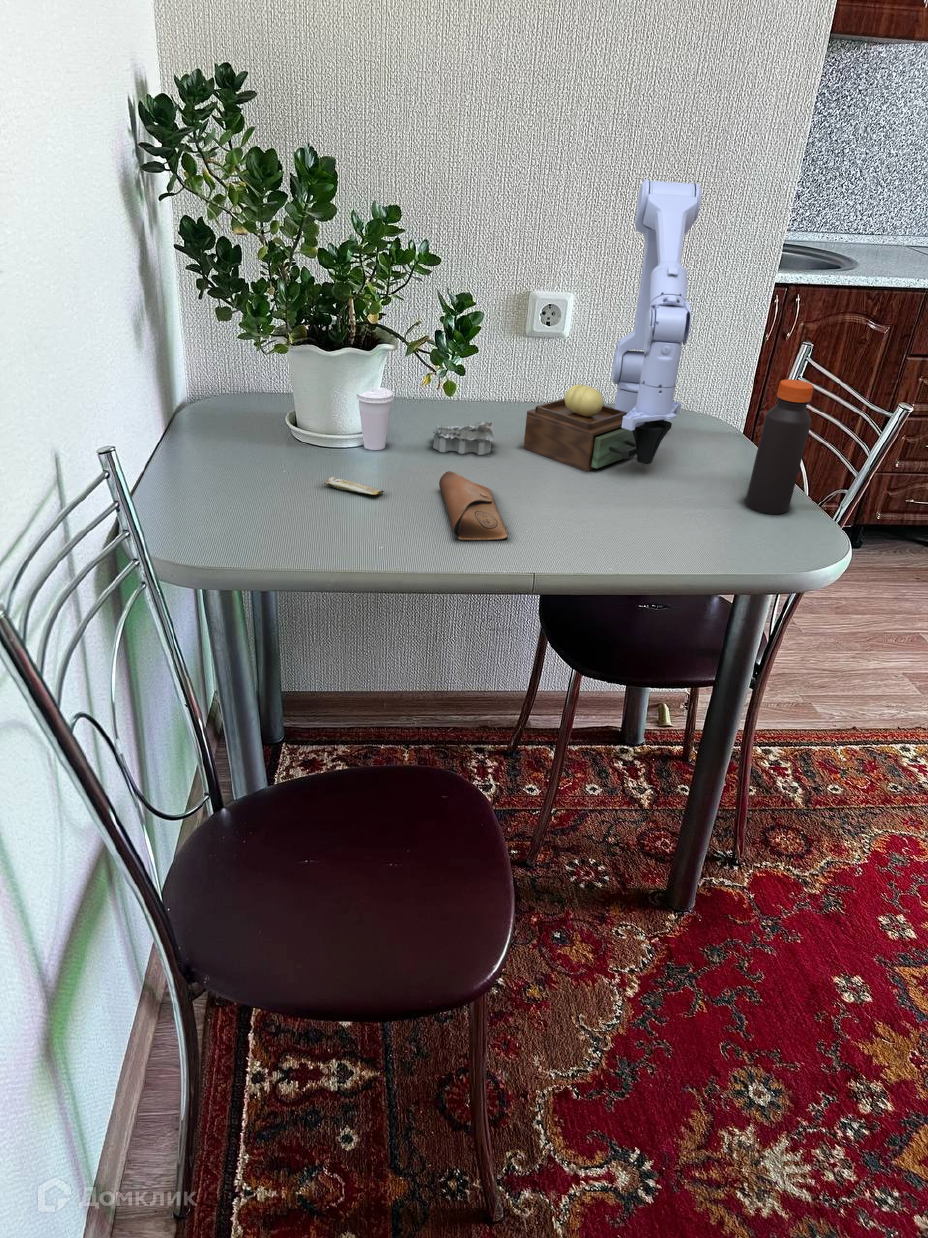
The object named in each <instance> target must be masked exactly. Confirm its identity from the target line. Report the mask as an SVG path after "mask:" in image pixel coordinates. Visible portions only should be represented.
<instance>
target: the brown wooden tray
mask: <svg viewBox="0 0 928 1238" xmlns="http://www.w3.org/2000/svg"><path fill="white" fill-rule="evenodd" d="M562 405H565V397H564V398H560V399H557V400H554V401H549V402H545V403H543V404H539V405H536V406H535V408H534V409H535V412H538V413H541V414H544V415H547V416H550V417H553V418H556V419H559V420H562V421H565V422H568V423H571V424H574V425H577V426H580V427H583V428H586V429H588V430H591V429H594V428H597V427H600V426H603V425H606V424H609V423H612V422H615V421H618V420H621V419H623V416H625V415H627V412H624V411H621V410H618V409H614V407H611V406H608V405H604V404H603V407H602V409H601V411H603V412H606V413H609V414H612V416H609V417H606V418H603V419H600V420H597V421H594V422H591V423H589V422H586V421H583V420H579V419H576V418H573V417H570V416H567V415H564V414H561V413H558V412H555V411H552V410H549V409H551V408H555V407H558V406H562Z"/></svg>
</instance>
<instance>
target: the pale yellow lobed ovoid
mask: <svg viewBox="0 0 928 1238" xmlns="http://www.w3.org/2000/svg"><path fill="white" fill-rule="evenodd" d="M564 398H565V404H566V407H567V408H568V409H569V410H570V411H571V412H573V413H576V414H579V415H582V416H586V417H591V416H595V415H596V414H598V413H599V412H600V411H601V409H602V407H603V405H604V397H603V395H602V393H601V392H600V391H599V390H598V389H596V388H594V387H592V386H588V385H585V384H579V383H578V384H574V385H572V386H570V387H569V388H568V389H567V391H566V392H565V394H564Z"/></svg>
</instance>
